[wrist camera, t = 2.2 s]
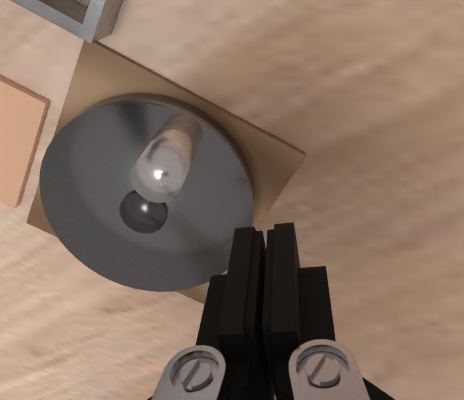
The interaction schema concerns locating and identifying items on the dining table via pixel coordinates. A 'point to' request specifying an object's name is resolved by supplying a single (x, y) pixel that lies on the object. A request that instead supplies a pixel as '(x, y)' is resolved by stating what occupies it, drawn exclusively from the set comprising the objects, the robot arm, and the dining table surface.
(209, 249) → the handwheel
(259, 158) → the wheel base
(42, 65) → the dining table surface
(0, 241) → the dining table surface
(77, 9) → the collar
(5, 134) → the pad
